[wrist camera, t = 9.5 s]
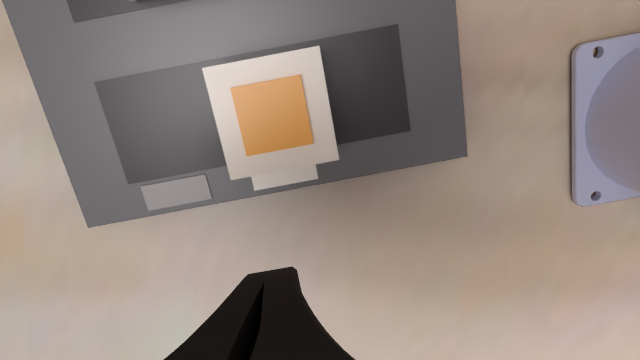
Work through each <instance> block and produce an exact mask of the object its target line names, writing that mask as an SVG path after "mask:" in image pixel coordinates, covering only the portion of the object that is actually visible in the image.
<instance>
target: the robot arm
mask: <svg viewBox="0 0 640 360" xmlns="http://www.w3.org/2000/svg"><path fill="white" fill-rule="evenodd" d="M595 47H596V48H597V49H598V53H597V55H596V57H593V54H592V53H593V50H594V49H595ZM595 191H596V194H595V196H594V197H593V198H591V194H592V193H593V192H595ZM635 197H640V32H638V33H633V34H628V35H623V36H617V37H612V38H607V39H602V40H596V41H591V42H586V43H581V44H579V45H577V46H576V47H575V48H574V50H573V52H572V200H573V202H574V203H575V204H577V205H579V206H581V207H587V206H592V205H597V204H603V203H608V202H613V201H619V200H624V199H629V198H635ZM164 360H355V359H354V358H353V357H351V356H350V355H349V354H348V353H347V352H346V351H344V350H343V349H342V348H341V347H340V345H339V344H338V343H337V342H336V341H335V340H334V339H333V338H332V337H331V336H330V335H329V334H328V332H327V331H326V330H325V329H324V327H323V326H322V325H321V324H320V322H319V321H318V319H317V318H316V316H315V315H314V313H313V312H312V310H311V309H310V307H309V305H308V304H307V302H306V300H305V298H304V296H303V294H302V292H301V287H300V283H299V278H298V273H297V270H296V269H295V268H293V267H287V268H282V269H276V270H270V271H264V272H258V273H252V274H248V275H247V276H246V277H245V278H244V279H243V280H242V281H241V282H240V283H239V285H238V286H237V287H236V288H235V289H234V290H233V292H232V293H231V294H230V295H229V296H228V297H227V298H226V300H225V301H224V302H223V303H222V304H221V305H220V306H219V307H218V309H217V310H216V311H215V312H214V313H213V314H212V315H211V316H210V317H209V318H208V319H207V320H206V321H205V322H204V323H203V324H202V325H201V326H200V327H199V328H198V329H197V330H196V331H195V332H194V333H193V334H192V335H191V336H190V337H189V338H188V339H187V340H186V341H185V342H184V343H183V344H182V345H180V346H179V347H178V348H177V349H176V350H175V351H174V352H172V353H171V354H170V355H169V356H168V357H166V358H165V359H164Z"/></svg>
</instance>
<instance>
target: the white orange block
mask: <svg viewBox="0 0 640 360" xmlns="http://www.w3.org/2000/svg"><path fill="white" fill-rule="evenodd" d="M202 71H203V75H204V78H205V82H206V86H207V90H208V94H209V98H210V102H211V106H212V109H213V113H214V117H215V121H216V125H217V129H218V133H219V137H220V140H221V144H222V148H223V152H224V156H225V160H226V164H227V168H228V171H229V175H230V179H231V180H235V179H241V178H246V177H251V176H257V175H262V174H267V173H272V172H278V171H283V170H288V169H294V168H299V167H304V166H309V165H315V164H320V163H325V162H331V161H336V160H339V155H338V150H337V144H336V138H335V133H334V127H333V121H332V115H331V110H330V104H329V98H328V92H327V87H326V81H325V75H324V69H323V64H322V58H321V52H320V47H319V46H314V47H309V48H304V49H299V50H294V51H288V52H283V53H278V54H273V55H267V56H262V57H257V58H252V59H247V60H241V61H236V62H231V63H226V64H220V65H215V66H210V67H205V68H202Z"/></svg>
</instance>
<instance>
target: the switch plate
mask: <svg viewBox="0 0 640 360" xmlns="http://www.w3.org/2000/svg"><path fill="white" fill-rule="evenodd" d="M2 1H3V4H4V6H5V9H6V12H7V14H8V17H9V20H10V22H11V25H12V28H13V30H14V33H15V36H16V38H17V41H18V44H19V46H20V49H21V51H22V54H23V57H24V59H25V62H26V65H27V67H28V70H29V73H30V75H31V78H32V81H33V83H34V86H35V88H36V91H37V94H38V96H39V99H40V102H41V104H42V107H43V110H44V112H45V115H46V118H47V120H48V123H49V126H50V128H51V131H52V133H53V136H54V139H55V141H56V144H57V147H58V149H59V152H60V155H61V157H62V160H63V163H64V165H65V168H66V170H67V173H68V176H69V178H70V181H71V184H72V186H73V189H74V192H75V194H76V197H77V200H78V202H79V205H80V208H81V210H82V213H83V215H84V218H85V221H86V223H87V226H88V228H90V227H95V226H101V225H106V224H111V223H116V222H122V221H127V220H132V219H138V218H143V217H148V216H154V215H159V214H164V213H169V212H175V211H180V210H185V209H191V208H196V207H201V206H206V205H212V204H217V203H222V202H228V201H233V200H238V199H244V198H249V197H254V196H259V195H265V194H270V193H275V192H281V191H286V190H291V189H297V188H302V187H307V186H312V185H318V184H323V183H328V182H334V181H339V180H344V179H349V178H355V177H360V176H365V175H371V174H376V173H381V172H387V171H392V170H397V169H402V168H408V167H413V166H418V165H424V164H429V163H434V162H440V161H445V160H450V159H455V158H461V157H466V156H467V143H466V131H465V118H464V106H463V93H462V80H461V68H460V55H459V43H458V30H457V18H456V5H455V0H135V1H129V0H2ZM314 46H319V47H320V52H321V58H322V64H323V69H324V75H325V81H326V87H327V92H328V98H329V104H330V110H331V115H332V121H333V127H334V133H335V138H336V144H337V150H338V155H339V160H336V161H331V162H325V163H320V164H315V165H309V166H304V167H299V168H294V169H288V170H283V171H278V172H272V173H267V174H262V175H257V176H251V177H246V178H241V179H235V180H231V179H230V175H229V171H228V168H227V164H226V160H225V156H224V152H223V148H222V144H221V140H220V137H219V133H218V129H217V125H216V121H215V117H214V113H213V109H212V106H211V102H210V98H209V94H208V90H207V86H206V82H205V78H204V75H203V71H202V68H205V67H210V66H215V65H220V64H226V63H231V62H236V61H241V60H247V59H252V58H257V57H262V56H267V55H273V54H278V53H283V52H288V51H294V50H299V49H304V48H309V47H314Z"/></svg>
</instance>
